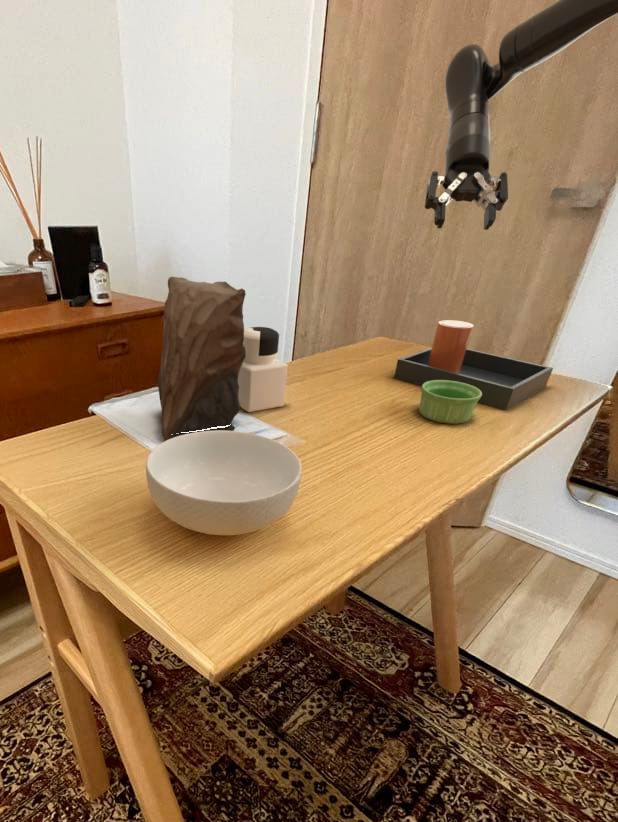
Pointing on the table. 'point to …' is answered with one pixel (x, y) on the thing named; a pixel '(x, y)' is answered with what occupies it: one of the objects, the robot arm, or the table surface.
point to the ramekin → (448, 401)
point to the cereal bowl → (223, 481)
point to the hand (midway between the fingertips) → (464, 225)
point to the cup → (450, 345)
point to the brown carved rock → (200, 356)
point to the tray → (481, 375)
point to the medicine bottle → (261, 371)
